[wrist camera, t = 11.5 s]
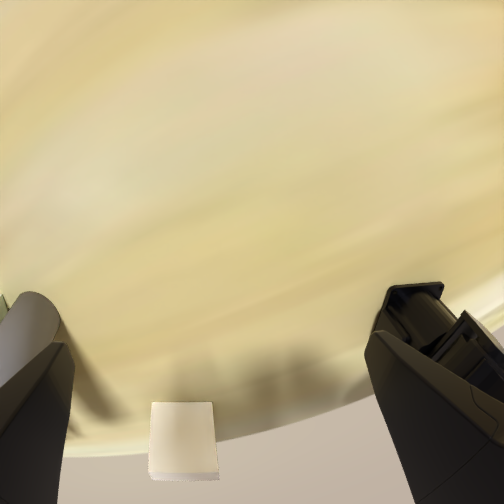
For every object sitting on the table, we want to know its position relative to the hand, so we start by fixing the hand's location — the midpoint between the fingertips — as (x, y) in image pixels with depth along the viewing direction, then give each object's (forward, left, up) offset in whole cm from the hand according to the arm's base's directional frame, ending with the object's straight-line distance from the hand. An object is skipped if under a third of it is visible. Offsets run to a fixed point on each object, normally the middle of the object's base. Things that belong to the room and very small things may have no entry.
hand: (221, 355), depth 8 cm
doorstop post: (+15, +9, -13) cm, 22 cm away
